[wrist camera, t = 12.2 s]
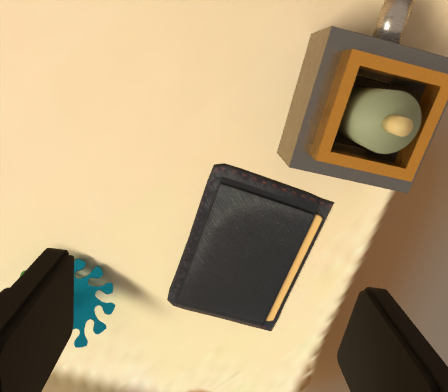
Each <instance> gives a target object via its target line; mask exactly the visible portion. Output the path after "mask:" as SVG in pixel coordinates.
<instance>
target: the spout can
mask: <svg viewBox="0 0 448 392" xmlns="http://www.w3.org/2000/svg"><path fill="white" fill-rule="evenodd" d="M420 124H421V109H420V106H419V104H418V102H417V101H416V99H415V98H414V97H413V96H411V95H410V94H408V93H406V92H403V91H397V90H388V89H379V88H370V87H361V86H353V87H352V90H351V93H350V96H349V99H348V102H347V105H346V108H345V110H344V113H343V116H342V119H341V122H340V125H339V128H338V131H337V134H339V135H341V136H343V137H345V138H347V139H349V140H351V141H353V142H355V143H357V144H359V145H361V146H363V147H365V148H367V149H369V150H371V151H374V152H376V153H381V154H389V153H394V152H397V151H399V150H401V149H403V148H404V147H406V146H407V145H408V144H409V143H410V142H411V141H412V140H413V139H414V137H415V136H416V134H417V132H418V130H419V128H420Z"/></svg>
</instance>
